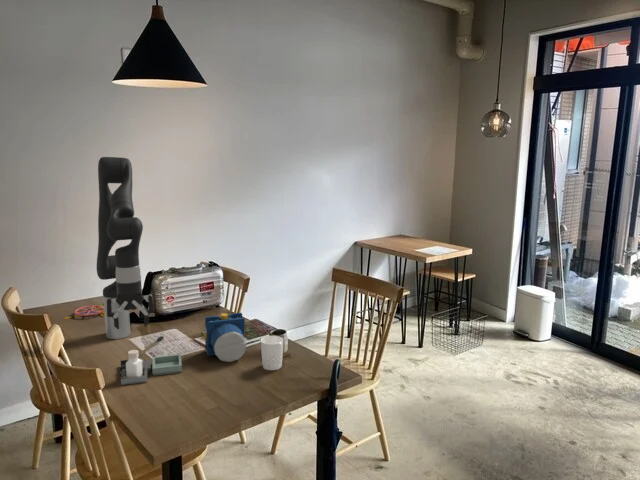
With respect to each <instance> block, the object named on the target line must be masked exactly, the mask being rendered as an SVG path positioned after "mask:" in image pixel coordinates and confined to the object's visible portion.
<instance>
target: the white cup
mask: <svg viewBox="0 0 640 480" xmlns="http://www.w3.org/2000/svg"><path fill="white" fill-rule="evenodd" d="M260 350H261V351H260V352H261V362H262V368H263V369H264V370H266V371H277V370H279V369H281V368H282V367H283V355H284V338H283V337H282V336H279V335H266V336H264V337H261V339H260Z"/></svg>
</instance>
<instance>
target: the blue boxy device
mask: <svg viewBox="0 0 640 480" xmlns="http://www.w3.org/2000/svg"><path fill="white" fill-rule="evenodd" d="M220 315H221V316H219V315H218V316H217V315H211V316H210V315H209V316H205V317H204V319H205V320H204V323H205V325H204V326H205V329H206V330H205V332H203V338H204V340H205V342H204V343H205V346H204V347H205V350H206V354H207V357H210V356H216V357H217V358H218V360H220V361H222V362H226V363H227V362H229V363H231V362H234V361H237V360H239V359H241V357H242V356H243V355H244V354H245V352H246V349H247V341H246V329H245V328H246V324H245V323H246V320H245V317H243V313H242V312H235V313H230V314H228V313H226V312H223V313H221V314H220Z"/></svg>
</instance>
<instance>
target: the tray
mask: <svg viewBox="0 0 640 480" xmlns="http://www.w3.org/2000/svg"><path fill="white" fill-rule="evenodd" d="M151 371H152V376H153V377H154V376H163V375H169V374H172V375H173V374H179V373H183V364H182V355H181V353H180V354H179V353H177V354H169V355H159V356H153V357H152V361H151Z"/></svg>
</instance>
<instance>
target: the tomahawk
mask: <svg viewBox="0 0 640 480" xmlns="http://www.w3.org/2000/svg"><path fill="white" fill-rule="evenodd" d="M164 338H165V337H164V336H163V335H161V336H159V337H157V339H156V341H153V342H152V343H151V344H149V345H148V346H147V347H145V348H144V349H143V350H141V352H138V355H141V356H143V355H144V354H145V353H147V352H148V351H149V350H151V349H152V348H153V347H155V346H156V345H158V344H159V343H160V342H161V341H162V340H164ZM150 348H151V349H150ZM147 350H148V351H147ZM146 351H147V352H146ZM144 352H145V353H144ZM143 353H144V354H143ZM138 357H140V356H138ZM140 358H141V357H140Z"/></svg>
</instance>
